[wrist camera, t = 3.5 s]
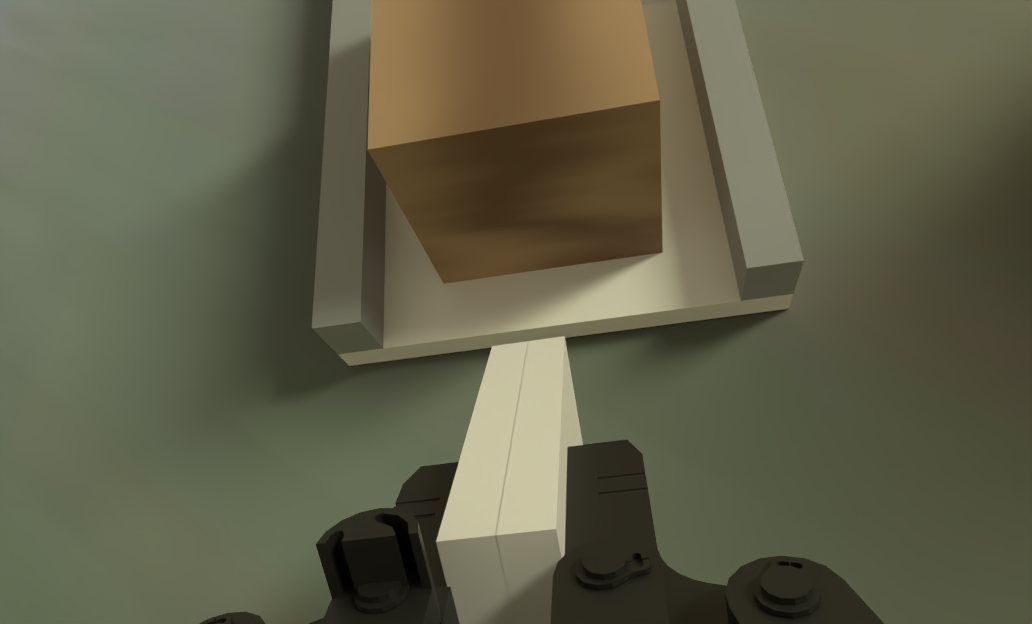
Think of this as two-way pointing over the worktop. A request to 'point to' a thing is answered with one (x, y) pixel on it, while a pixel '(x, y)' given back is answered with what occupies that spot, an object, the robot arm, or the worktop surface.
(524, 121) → the walnut block
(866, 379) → the worktop surface
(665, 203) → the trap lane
